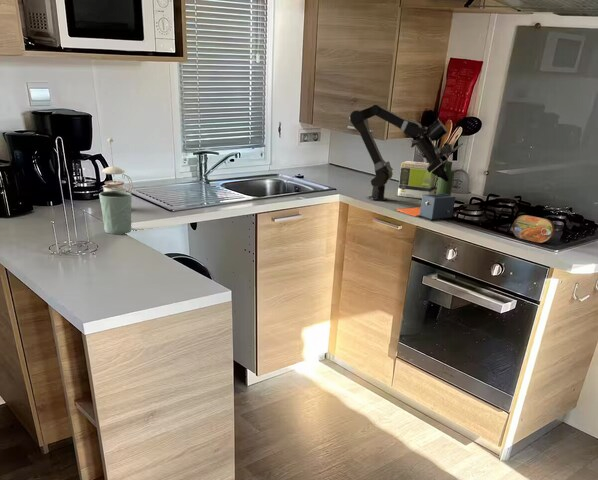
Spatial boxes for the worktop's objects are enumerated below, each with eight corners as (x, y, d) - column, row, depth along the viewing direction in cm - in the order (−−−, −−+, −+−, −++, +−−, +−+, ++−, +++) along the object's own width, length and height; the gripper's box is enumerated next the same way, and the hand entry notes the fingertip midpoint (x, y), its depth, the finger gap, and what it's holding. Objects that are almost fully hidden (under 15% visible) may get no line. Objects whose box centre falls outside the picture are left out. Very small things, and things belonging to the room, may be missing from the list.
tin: (510, 236, 223) (515, 213, 219) (514, 235, 225) (519, 212, 221) (548, 245, 214) (554, 221, 210) (552, 244, 216) (558, 220, 212)
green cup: (98, 229, 202) (94, 191, 196) (127, 225, 208) (123, 189, 202) (110, 236, 195) (106, 197, 189) (139, 232, 201) (136, 195, 195)
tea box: (433, 196, 283) (438, 163, 275) (428, 200, 275) (433, 166, 267) (402, 192, 288) (407, 159, 280) (396, 196, 280) (401, 162, 272)
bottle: (433, 194, 263) (438, 160, 256) (446, 194, 264) (452, 160, 257) (439, 197, 257) (445, 162, 250) (452, 197, 259) (458, 163, 252)
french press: (98, 207, 229) (91, 136, 216) (127, 205, 235) (121, 135, 223) (110, 213, 222) (102, 140, 210) (139, 210, 229) (133, 139, 217)
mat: (396, 210, 252) (396, 209, 252) (421, 207, 259) (421, 207, 259) (415, 216, 244) (415, 215, 244) (440, 214, 251) (440, 213, 250)
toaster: (417, 216, 244) (420, 194, 239) (439, 214, 250) (443, 192, 245) (431, 221, 238) (434, 198, 234) (453, 218, 244) (457, 196, 240)
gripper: (439, 137, 242) (461, 169, 245) (447, 134, 258) (468, 164, 260) (417, 156, 249) (439, 187, 251) (426, 151, 264) (446, 181, 266)
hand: (449, 179), depth 257 cm, fingers closed on bottle, 6 cm apart
